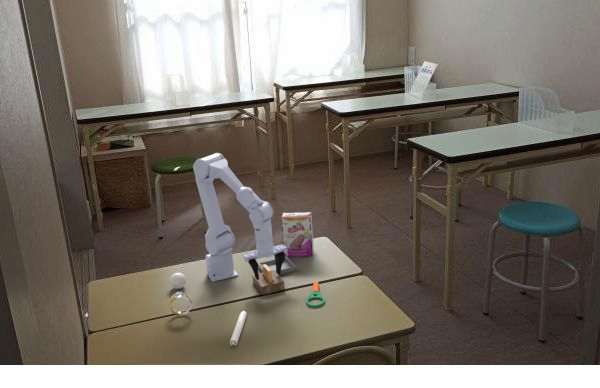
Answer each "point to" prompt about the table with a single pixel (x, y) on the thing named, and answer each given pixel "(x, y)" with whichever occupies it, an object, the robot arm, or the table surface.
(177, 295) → the ring
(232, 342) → the marker
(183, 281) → the white egg
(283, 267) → the tray
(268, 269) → the tan wooden plank
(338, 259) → the table surface
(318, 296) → the magnifying glass
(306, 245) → the candy bar box
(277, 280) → the brown slotted block
